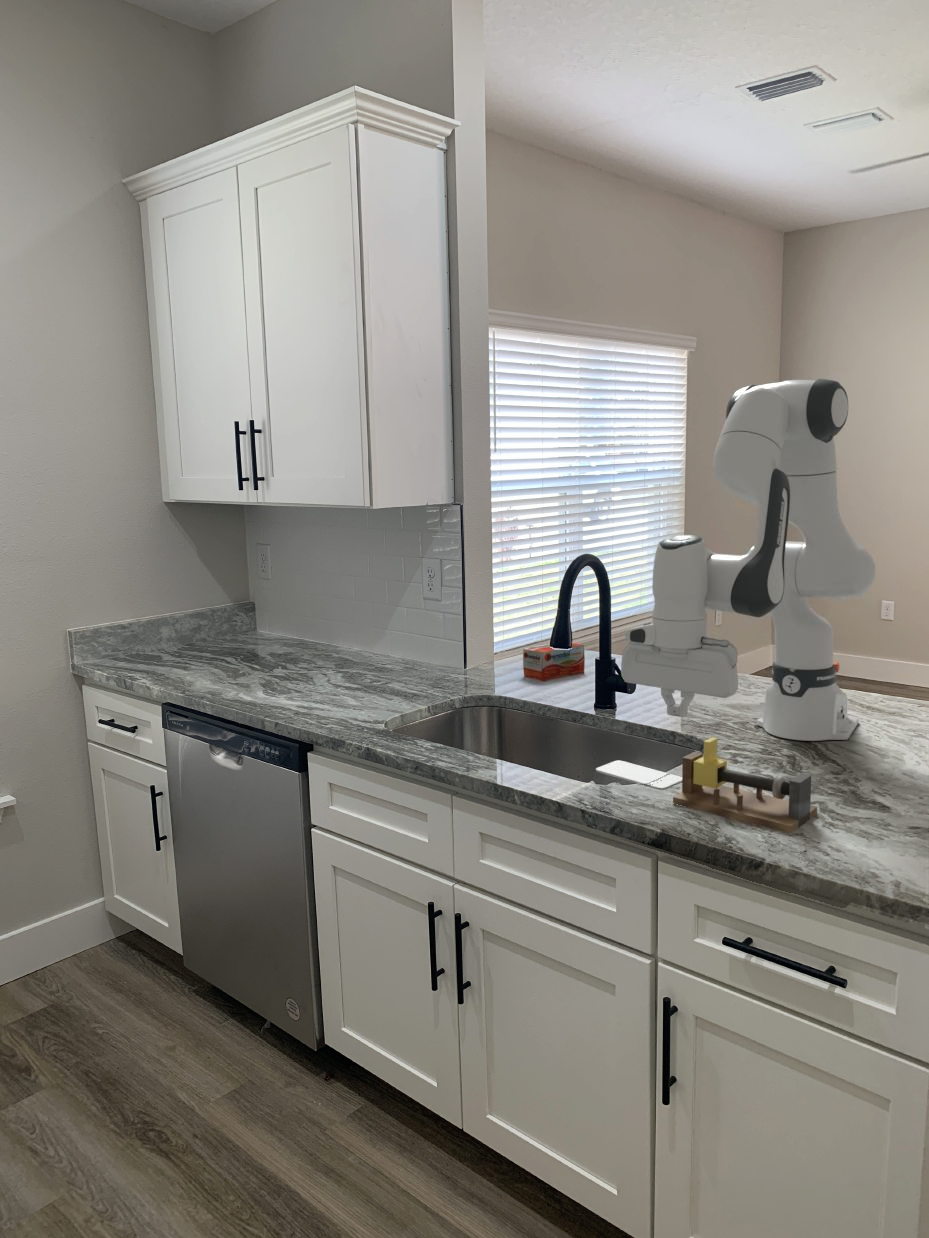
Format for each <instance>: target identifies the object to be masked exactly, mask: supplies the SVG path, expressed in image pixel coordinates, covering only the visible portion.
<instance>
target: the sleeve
mask: <svg viewBox="0 0 929 1238" xmlns="http://www.w3.org/2000/svg"><path fill="white" fill-rule="evenodd" d="M727 765H728V760H727V759H724V758H718V738H717V737H710V738H708V739H706V740H704V741H703V757H701V758H699V759H698V760H696V761H694V775H693V784H698V785H702V786H706V787H711V788H715V789H716V788H718V787H719V786H721V785H723V786H724V785H725V784H726V783H727V782H725V781H721V780H717V779H718V768H723V769H727V768H728V767H727Z"/></svg>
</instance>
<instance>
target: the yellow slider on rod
mask: <svg viewBox="0 0 929 1238" xmlns="http://www.w3.org/2000/svg"><path fill="white" fill-rule="evenodd" d="M703 756H704V752H702V753H701V752H698V751H693V752H691V753H689V754H687V755H685V756H683V757H682V766H681V767H682V771H681V773H682V776H681V777H682V782H681V787H682V788H681V790H682V791H681V792H680V793H678V794H676V795H674V796H672V804H673V803H674V804H673V805H675V804H678V805H677V806H679V805H682V806H681V807H683V806H686V807H685V808H687V807H689V808H688V809H691V808H693V809H692V810H695V809H697V810H696V811H699V810H700V811H699V812H704V813H708V814H711V815H715V816H718V817H719V816H720V817H724V818H727V819H732V820H736V821H740V822H745V823H746V824H747V823H748V824H752V825H755V826H759V827H763V828H768V829H771V830H776V831H779V832H784V833H787V834H792V833H794V832H795V831H797V829H799V828H800V827H802V826H803V825H804V824H806V823H807V822H808V821H809V820H811V819H812V818H814V817H815V816H817V815H818V806H814V805H811V802H812V801H811V798H812V797H811V796H812V795H811V793H812V774H806V773H799V774H798V775H796V776H794V777H793V778H791V779H790V780H788V777H787V776H785V775H780V774H778V775H777V776H775V778H774V779H773V778H770V777H766V776H765V777H764V776H759V775H755V774H752V773H746V772H740V771H736V770H731V769H723V768H718V779H717V780H721V781H725V782H726V783H729V784H733V787H732V786H727V785H724V784H723V785H721V786H719V787H718V788H716V789H715V788H711V787H706V786H702V785H698V784H693V775H694V761H696V760H698V759H699V758H701V757H703ZM740 786H742V787H743V786H744V787H748V788H753V789H756V792H753V791H748V790H745V789H744V790H743V789H740ZM763 791H767V792H771V793H772V795H767V794H763ZM786 796H788V797H789V798H788V799H785V797H786Z"/></svg>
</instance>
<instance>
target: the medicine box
mask: <svg viewBox="0 0 929 1238" xmlns="http://www.w3.org/2000/svg"><path fill="white" fill-rule="evenodd" d="M571 643H572V649H570V650H554V649H552V648H550V643H546V644H542V645H541V644H539V645H534V646H530V647H526V648H525V647H524V648H523V651H522V652H523V653H522V656H523V657H522V666H523V669H522V670H523V677H524V678H528V679H532V680H537V681H540V682H547V681H551V680H557V679H562V678H567V677H571V676H576V675H581V674H584V673H585V665H586V663H585V662H586V661H585V657H586V656H585V646H584V644H580V643H575V642H571Z"/></svg>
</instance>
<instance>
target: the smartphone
mask: <svg viewBox="0 0 929 1238" xmlns="http://www.w3.org/2000/svg"><path fill="white" fill-rule="evenodd" d="M595 772H597V773H599V774H603V775H606V776H610V777H614V778H616V779H621V780H625V781H628V782H631V783H635V784H638V785H642V784H643V785H644V784H645V783H649V782H651V781H653V780H656V779H658V778H660V777H662V776H664V775H666V774H668V773H669V772H665V771H661V770H657V769H653V768H649V767H646V766H643V765H638V764H634V763H632V762H628V761H626V760H625V761H623V760H619V759H618V760H614V761H610V762H609V763H606V764H603V765H601V766H598V767H596V768H595ZM669 774H670V775H667V776H666V777H663V778H661V779H659V780H658V781H655V782H651V783H650V784H651V787H650V788H653V787H656V788H661V789H660V790H664V789H663V788H666V787H669V786H671V785H673V786H675V785H677V784H676V783H678V784H680V783H682V782H681V781H682V776H679V775H675V774H672V773H669ZM660 780H662V781H660ZM657 782H658V783H657ZM679 782H680V783H679ZM652 784H653V785H652ZM674 784H675V785H674ZM648 785H649V784H648ZM671 787H672V786H671ZM656 788H655V789H656ZM669 788H670V787H669ZM666 789H667V788H666Z"/></svg>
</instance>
